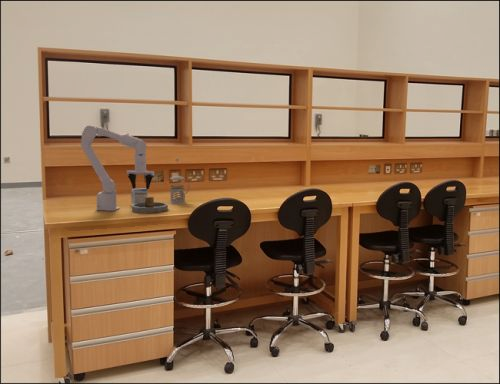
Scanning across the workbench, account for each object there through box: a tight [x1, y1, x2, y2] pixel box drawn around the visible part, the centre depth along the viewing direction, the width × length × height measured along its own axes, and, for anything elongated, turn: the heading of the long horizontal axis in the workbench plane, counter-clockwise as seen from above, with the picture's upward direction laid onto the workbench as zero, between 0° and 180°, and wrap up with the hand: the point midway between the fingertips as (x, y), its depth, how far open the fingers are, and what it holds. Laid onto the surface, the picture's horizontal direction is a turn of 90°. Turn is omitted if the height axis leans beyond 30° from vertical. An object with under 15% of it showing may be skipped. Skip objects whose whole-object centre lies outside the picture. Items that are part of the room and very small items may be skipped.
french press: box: [168, 158, 190, 205], centre depth 275 cm, size 10×12×25 cm
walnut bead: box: [145, 196, 155, 208], centre depth 253 cm, size 4×4×6 cm
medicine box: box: [130, 187, 148, 205], centre depth 269 cm, size 8×4×9 cm, turn 126°
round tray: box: [131, 201, 169, 214], centre depth 253 cm, size 18×18×3 cm
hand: (140, 188), depth 256 cm, fingers open, 7 cm apart
